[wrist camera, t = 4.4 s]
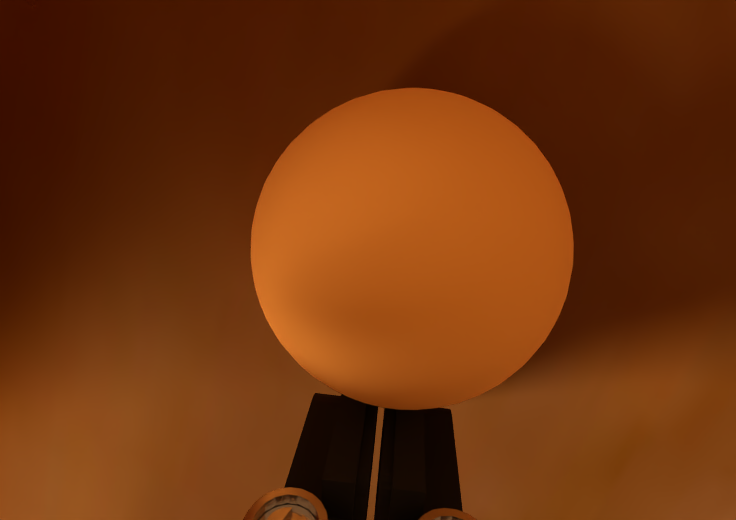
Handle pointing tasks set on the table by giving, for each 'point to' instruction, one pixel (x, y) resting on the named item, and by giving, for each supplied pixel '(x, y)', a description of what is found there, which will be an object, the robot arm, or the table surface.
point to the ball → (412, 248)
